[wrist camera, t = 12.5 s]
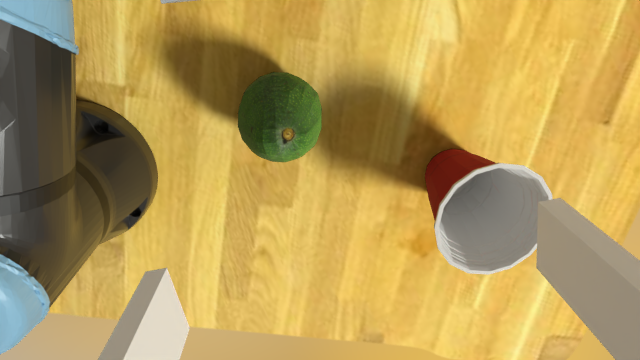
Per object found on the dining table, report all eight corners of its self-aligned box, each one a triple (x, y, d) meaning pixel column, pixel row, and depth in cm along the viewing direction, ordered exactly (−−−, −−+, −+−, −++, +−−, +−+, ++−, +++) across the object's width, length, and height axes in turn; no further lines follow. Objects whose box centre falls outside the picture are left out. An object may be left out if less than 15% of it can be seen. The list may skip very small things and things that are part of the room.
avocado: (324, 135, 47) (332, 180, 36) (251, 146, 47) (237, 193, 36) (314, 59, 44) (319, 82, 33) (236, 70, 44) (214, 97, 33)
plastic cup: (511, 191, 50) (571, 247, 39) (423, 228, 52) (457, 293, 41) (484, 107, 46) (541, 144, 35) (389, 151, 48) (416, 199, 37)
